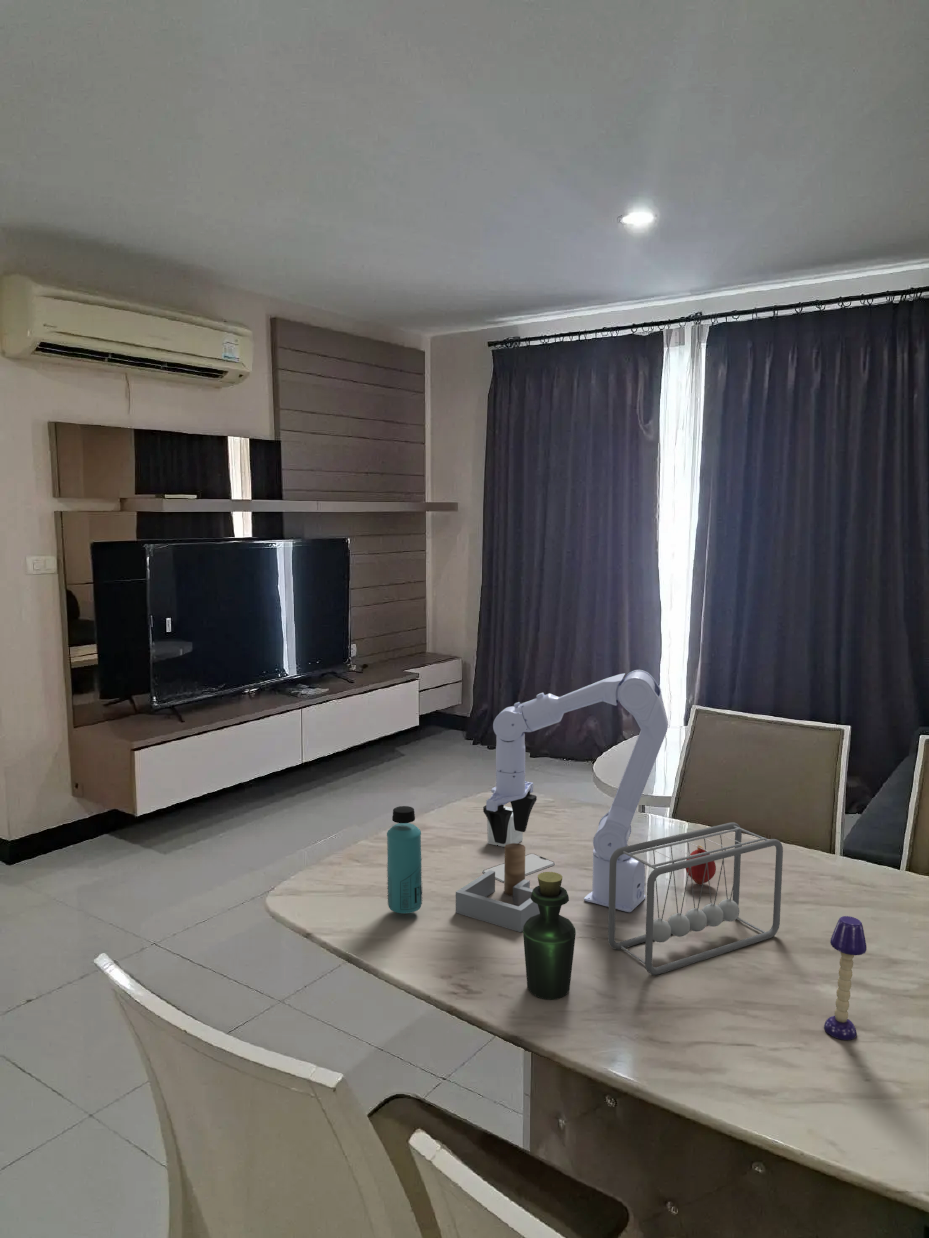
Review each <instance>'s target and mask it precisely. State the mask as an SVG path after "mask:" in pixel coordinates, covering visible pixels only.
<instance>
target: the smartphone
mask: <svg viewBox="0 0 929 1238" xmlns="http://www.w3.org/2000/svg"><path fill="white" fill-rule="evenodd" d="M555 865H556V862H555V861H553V860H550V859H549V858H545V857H543V856H542V855H541V856H540V855H539V854H537V853H528V854H525V877H526V876H530V875H532V874H534V873H537V872H540V871H542V870H543V871H544V870H546V869H549V868H551V867H554V866H555ZM504 867H505V862H503V863H500V864H498V865H494V866H491V867H488V868H486V869H483V870H482V874H485V873H486V872H488V871H489V870H491V871H495V881H496V880H497V881H498V882H501V883H504Z"/></svg>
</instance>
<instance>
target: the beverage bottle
mask: <svg viewBox="0 0 929 1238" xmlns="http://www.w3.org/2000/svg"><path fill="white" fill-rule="evenodd" d="M415 815H416V814H415V809H414V807H412V806H409V805H401V806H400V805H399V806H396V807H394V808H393V810H392V815H391V816H392V817H391V819H392V821H393V822H394V823H395V824H393V825H392V826H391V827H390V828H389V829H388V830H387V832H386V840H387V841H386V843H387V848H386V850H387V851H386V852H387V862H386V868H387V870H386V877H387V887H386V889H387V894H386V895H387V896H386V897H387V898H386V899H387V906H388V908H389V910H390V911H392V912H394V913H397V914H412V913H416V912H417V911H419V910H420V909H421V908H422V905H423V900H424V899H423V881H422V879H423V878H422V859H423V858H422V831H421V830H420V828H419V827H418V826H417V825H415V824H413V822H415V820H416V816H415Z"/></svg>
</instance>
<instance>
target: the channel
mask: <svg viewBox="0 0 929 1238" xmlns="http://www.w3.org/2000/svg"><path fill="white" fill-rule="evenodd" d="M530 881H531V880H529V879H526V878H525V879H524V880H522V881H521V882H520V883H518V884H517V885H515V886H514V887H513V896H512V903H507V902H504V901H501V900H497V899H495V898H491V897H488V896H490V895H492V894H493V893H494V892H496V879H495V871H491V870H489V871H488V872H486V873H485V874H484V873H482V874H481V875H480V876H478V877H477V878H475V879H473V880H472V881H471V882H468V884H466V885H464V886H463V887H461V888H460V889H458V890H456V891H455V913H456V914H458V915H463V916H466V917H469V918H472V919H475V920H479V921H481V922H485V923H488V924H492V925H496V926H499V927H501V928H506V929H507V930H512V931H514V932H518V933H523V926H524V925H525V923H526V921H527V920H528V919H529V918H530V917H533V916H535V915H538V914H540V912H539V908H538V904H536V903H534V902H533V901H532V900H531V894H532V891H533V889H534V888H530V886H531V885H530V883H531V882H530Z"/></svg>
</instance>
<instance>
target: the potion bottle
mask: <svg viewBox="0 0 929 1238" xmlns="http://www.w3.org/2000/svg"><path fill="white" fill-rule="evenodd" d="M537 880H538V881H537V883H538V885H537V886H535V887H533V888H532V889H533V891H532V894H531V900H532V901H533V902H534V903H536V904H538V908H539V912H540V914H538V915H535V916H533V917H530V918H529V919H528V920H527V921H526V923H525V925H524V926H523V931H522V936H523V938H522V939H523V947H524V948H523V949H524V959H525V960H524V961H525V974H526V986H527V989H528V991H529V993H531V995H533V996H535V997H537V998H540V999H543V1000H557V999H560V998H563V997H565V996H566V995H567V994H568V993H569V991H570V989H571V979H572V973H573V972H572V970H573V961H574V952H575V942H576V928H575V926H574V924H573V922H572V921H571V920H570V919H569V918H567V917H565V916H563V915H561V914H560V913H561V909H562V906H564V905H566V904H567V903H569V901H570V900H569V899H570V897H569V894H568V891H567V889H566V888H564V887H562V882H563V876H562V874H561V873H559V872H555V871H542V872H540V873H539V874H537Z"/></svg>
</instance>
